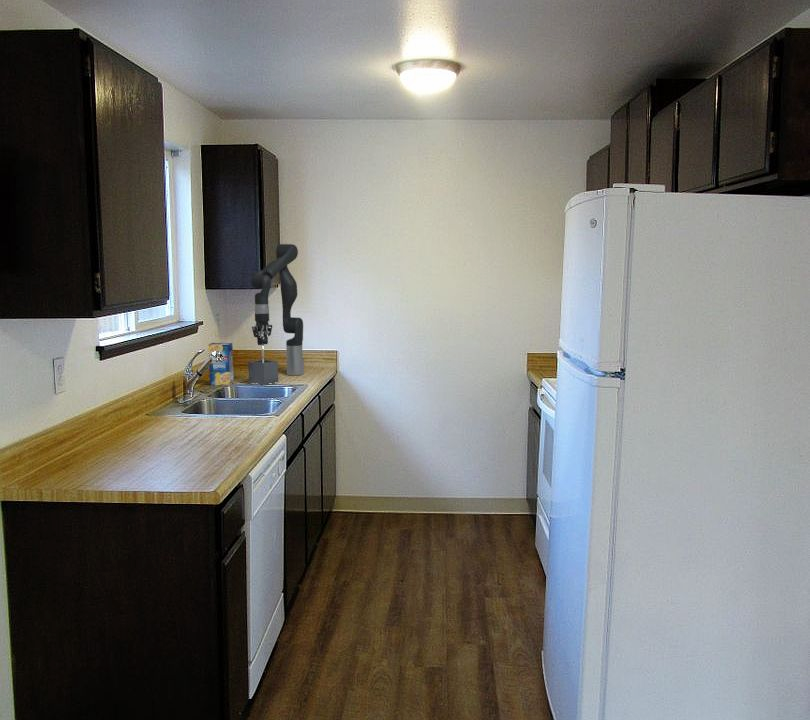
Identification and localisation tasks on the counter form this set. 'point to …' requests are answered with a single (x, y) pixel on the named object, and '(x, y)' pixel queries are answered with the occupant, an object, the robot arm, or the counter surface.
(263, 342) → the plunger
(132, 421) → the counter surface
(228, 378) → the beverage box
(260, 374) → the gray open box
